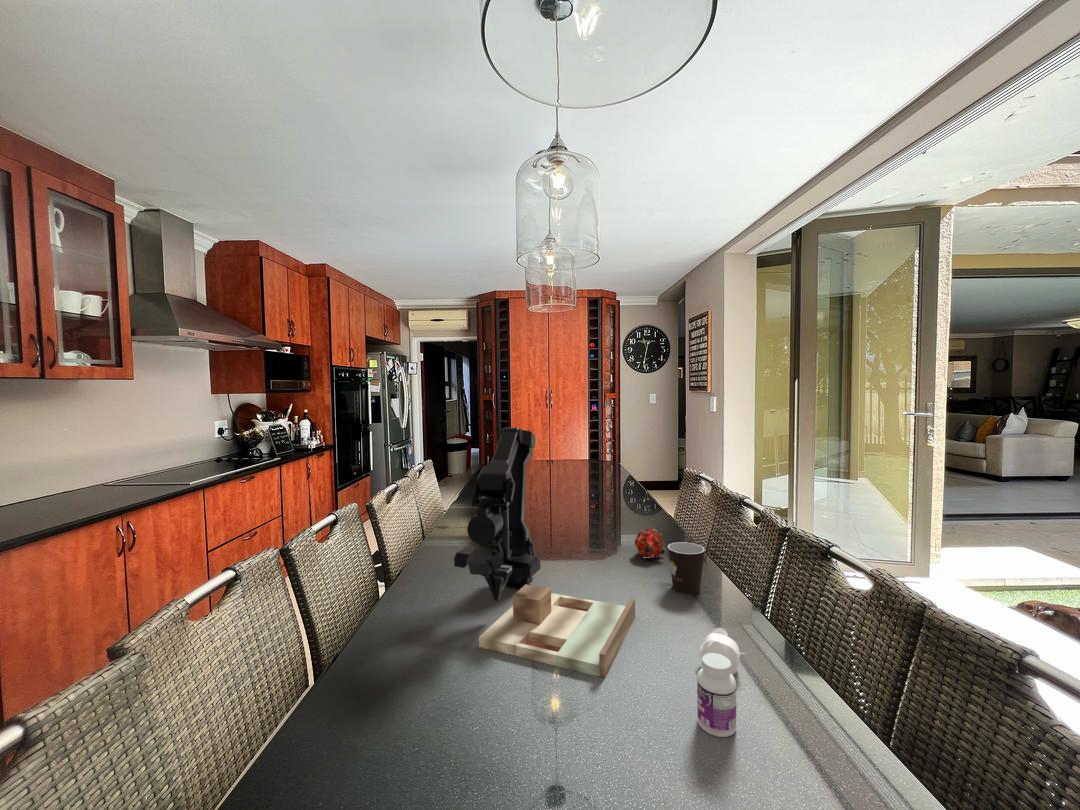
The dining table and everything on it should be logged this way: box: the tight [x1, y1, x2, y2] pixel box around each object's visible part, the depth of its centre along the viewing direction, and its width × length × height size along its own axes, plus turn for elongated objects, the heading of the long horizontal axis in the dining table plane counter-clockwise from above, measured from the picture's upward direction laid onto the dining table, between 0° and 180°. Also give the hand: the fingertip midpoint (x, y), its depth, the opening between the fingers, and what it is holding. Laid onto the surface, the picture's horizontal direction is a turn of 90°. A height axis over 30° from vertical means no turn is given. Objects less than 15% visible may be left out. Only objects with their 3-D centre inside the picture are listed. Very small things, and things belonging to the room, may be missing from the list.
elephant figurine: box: [698, 627, 747, 676], centre depth 81 cm, size 7×8×6 cm
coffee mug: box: [667, 541, 705, 595], centre depth 115 cm, size 12×9×10 cm
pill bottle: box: [696, 653, 737, 738], centre depth 67 cm, size 5×5×10 cm
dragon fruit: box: [634, 528, 666, 560], centre depth 136 cm, size 8×8×12 cm
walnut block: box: [512, 584, 552, 625], centre depth 97 cm, size 6×6×5 cm
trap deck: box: [478, 592, 636, 679], centre depth 94 cm, size 25×23×4 cm
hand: (497, 600), depth 101 cm, fingers closed
